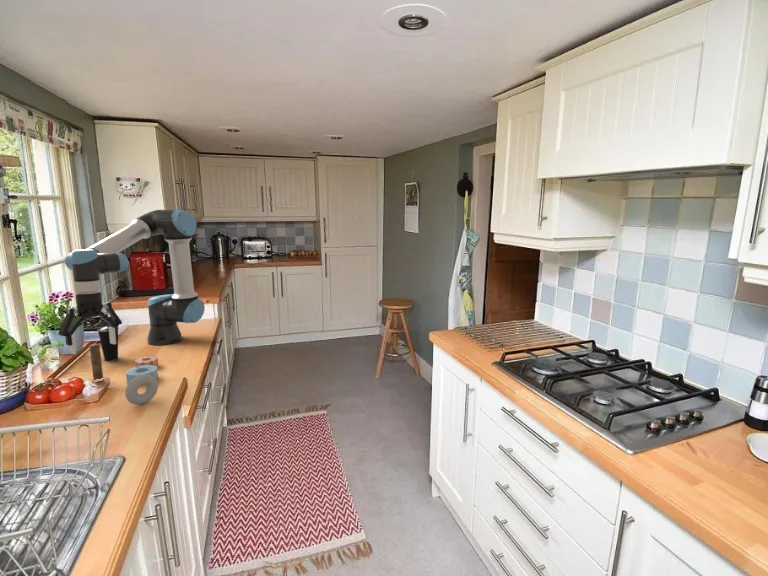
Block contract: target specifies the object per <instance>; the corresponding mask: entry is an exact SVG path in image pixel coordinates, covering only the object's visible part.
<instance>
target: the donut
mask: <svg viewBox="0 0 768 576" xmlns="http://www.w3.org/2000/svg"><path fill="white" fill-rule="evenodd" d="M157 380H158V379H157ZM157 380H156V379H155V378H154V377H153V376H151V375H146V374H143V375H139V376H137V377H135V378H134V379H132V380H131V381H130V382H129V384H127V385H126V387H125V393H124V394H125V398H126V400H127V401H128V402H129V403H130V404H133V405H138V406H139V405H140V406H141V405H143V404H146V403H148V402H149V401H151V400H152V399H154V397H155V396H156V395H157V392H158V389H159V388H158V387H159V385H158V381H157ZM143 385H145V386H146V389H145V391H144V392H142V393H139V392H138V391H139V388H140V387H141V386H143Z"/></svg>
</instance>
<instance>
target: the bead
mask: <svg viewBox="0 0 768 576" xmlns="http://www.w3.org/2000/svg"><path fill="white" fill-rule="evenodd" d="M134 364H135V367H138V366H144V365H153V366H156V367H157V368H158V367H159V358H158V356H155V355H149V356H146V355H145V356H142V357H139V358H137V359H135V360H134Z"/></svg>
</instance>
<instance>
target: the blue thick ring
mask: <svg viewBox="0 0 768 576" xmlns="http://www.w3.org/2000/svg"><path fill="white" fill-rule="evenodd" d="M143 374H146V375H151V376H153V377H154V378H155V379H156V380H158V379H159V377H158V375H159V374H158V367H156V366H153V365H144V366H138V367H136V366H135V367H132V368H129V369H127V370H125V375H126V384H127V385H128V384H129V382H130V381H131V380H132V379H134V378H135V377H137V376H139V375H143Z"/></svg>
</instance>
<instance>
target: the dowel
mask: <svg viewBox="0 0 768 576" xmlns="http://www.w3.org/2000/svg"><path fill="white" fill-rule="evenodd" d="M100 345H101V344H100V343H93V344H90V345H89V352H90V363H91V369H92V377H93V381H94V380H96V379H101V378H103V379H104V374H103V364H102V357H101V356H102V355H101V348H100Z"/></svg>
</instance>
